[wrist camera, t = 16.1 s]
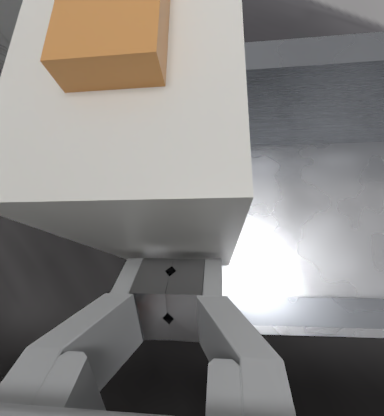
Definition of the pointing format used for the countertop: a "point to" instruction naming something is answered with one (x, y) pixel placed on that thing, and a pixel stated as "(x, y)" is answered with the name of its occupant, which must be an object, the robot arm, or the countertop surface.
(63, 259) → the countertop surface
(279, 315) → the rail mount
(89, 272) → the countertop surface
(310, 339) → the countertop surface
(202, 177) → the block
